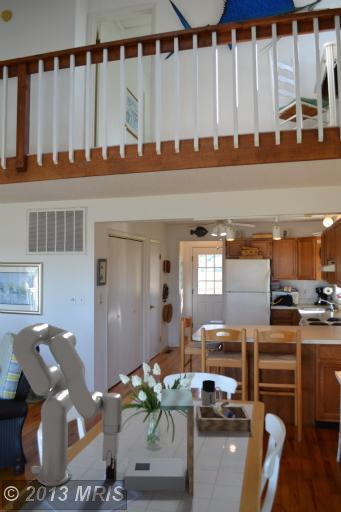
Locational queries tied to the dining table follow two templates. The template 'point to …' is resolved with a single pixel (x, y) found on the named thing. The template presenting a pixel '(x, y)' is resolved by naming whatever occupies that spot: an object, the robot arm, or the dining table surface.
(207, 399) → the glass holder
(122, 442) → the dining table surface
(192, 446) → the glass-topped wooden stand
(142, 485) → the socket block
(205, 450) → the dining table surface
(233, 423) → the display tray
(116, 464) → the peg
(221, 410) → the fish sculpture
